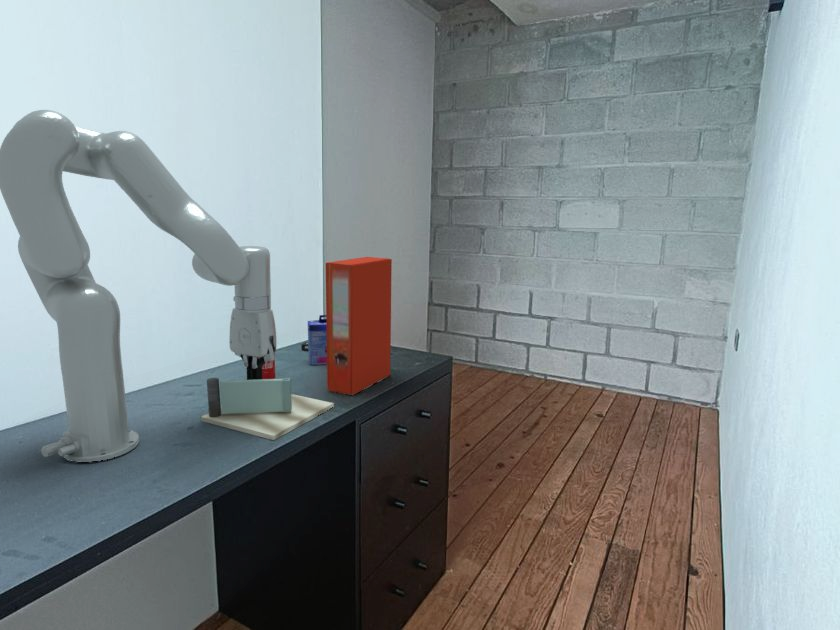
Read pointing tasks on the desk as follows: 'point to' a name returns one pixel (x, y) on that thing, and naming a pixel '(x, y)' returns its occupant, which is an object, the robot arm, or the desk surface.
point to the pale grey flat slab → (255, 395)
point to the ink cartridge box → (317, 341)
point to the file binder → (358, 323)
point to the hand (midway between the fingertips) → (254, 383)
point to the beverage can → (269, 370)
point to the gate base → (263, 415)
